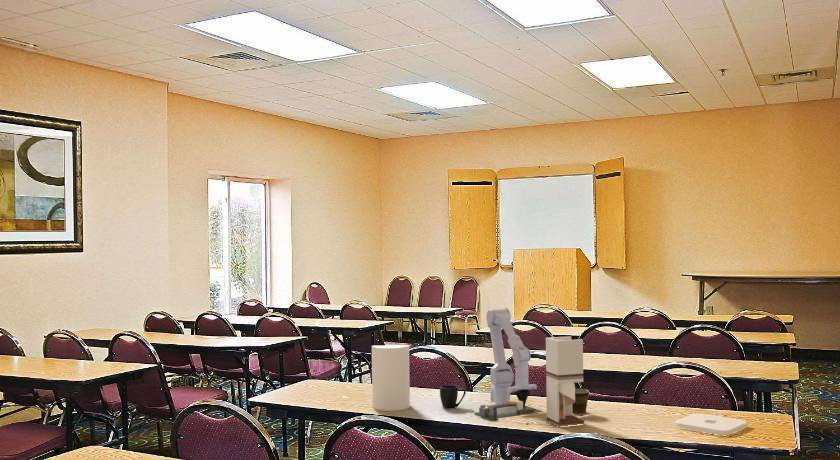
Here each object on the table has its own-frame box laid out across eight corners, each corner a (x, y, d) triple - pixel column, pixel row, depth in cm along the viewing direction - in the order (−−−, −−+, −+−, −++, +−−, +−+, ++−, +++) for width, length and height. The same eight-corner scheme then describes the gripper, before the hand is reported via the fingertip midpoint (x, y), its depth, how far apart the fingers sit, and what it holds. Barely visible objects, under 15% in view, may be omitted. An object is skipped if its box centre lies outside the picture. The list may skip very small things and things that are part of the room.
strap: (482, 409, 322) (482, 406, 322) (510, 405, 328) (510, 402, 328) (488, 411, 318) (488, 408, 318) (516, 407, 324) (516, 404, 324)
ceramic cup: (581, 410, 330) (580, 387, 330) (594, 415, 321) (593, 392, 321) (555, 413, 325) (555, 390, 326) (568, 418, 316) (567, 394, 316)
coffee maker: (558, 427, 300) (557, 340, 301) (546, 421, 310) (545, 337, 311) (584, 425, 303) (582, 339, 304) (571, 419, 314) (570, 336, 314)
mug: (462, 410, 333) (462, 389, 333) (437, 408, 337) (437, 387, 337) (468, 406, 340) (467, 385, 340) (443, 404, 345) (443, 384, 345)
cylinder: (409, 410, 334) (409, 347, 335) (371, 410, 334) (370, 348, 335) (410, 402, 352) (409, 342, 352) (373, 402, 351) (372, 343, 352)
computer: (671, 428, 298) (671, 421, 298) (696, 419, 314) (696, 412, 314) (726, 438, 283) (726, 431, 283) (749, 427, 298) (749, 421, 298)
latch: (506, 410, 328) (506, 400, 328) (516, 409, 330) (516, 398, 330) (513, 412, 323) (512, 402, 323) (523, 411, 326) (523, 400, 326)
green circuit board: (473, 414, 325) (473, 404, 325) (525, 407, 338) (524, 397, 338) (490, 421, 312) (490, 410, 312) (543, 413, 325) (543, 403, 325)
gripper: (513, 379, 322) (514, 410, 322) (540, 375, 328) (541, 406, 328) (504, 376, 328) (504, 407, 328) (531, 373, 335) (531, 403, 335)
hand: (522, 406), depth 328 cm, fingers closed
